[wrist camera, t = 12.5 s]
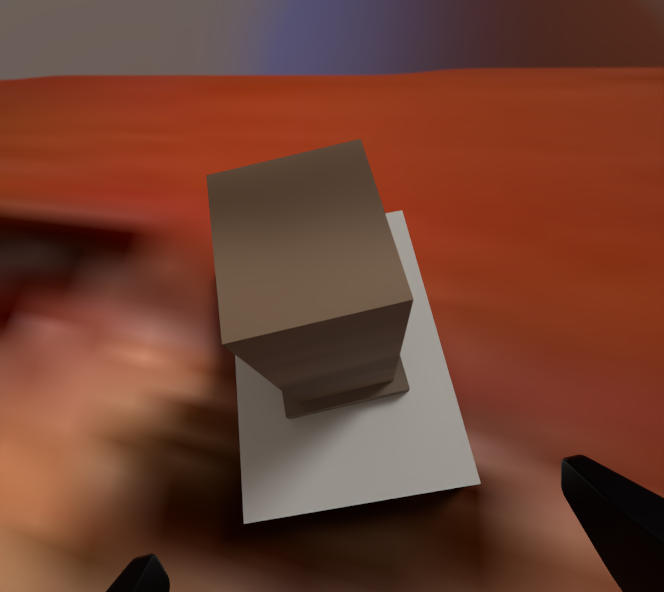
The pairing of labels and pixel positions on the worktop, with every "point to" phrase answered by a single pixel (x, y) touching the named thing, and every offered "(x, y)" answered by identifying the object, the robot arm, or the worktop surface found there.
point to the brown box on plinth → (310, 278)
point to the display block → (357, 430)
